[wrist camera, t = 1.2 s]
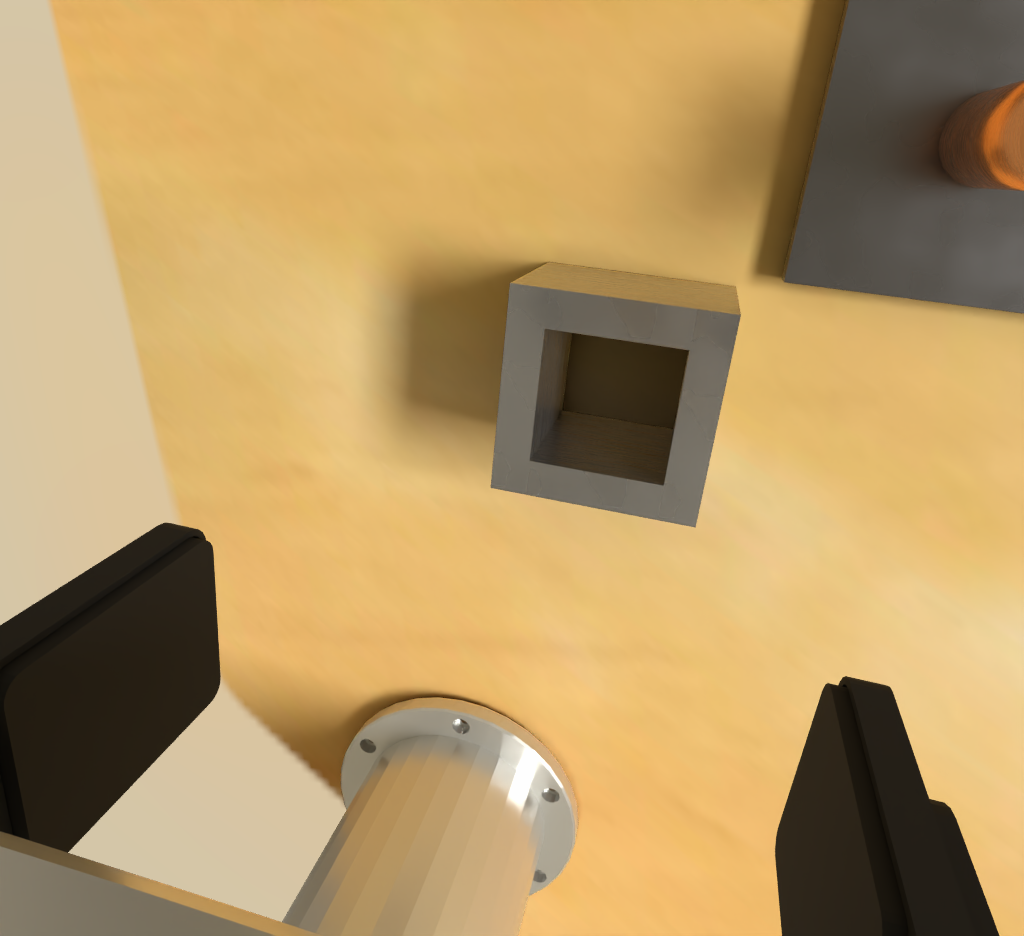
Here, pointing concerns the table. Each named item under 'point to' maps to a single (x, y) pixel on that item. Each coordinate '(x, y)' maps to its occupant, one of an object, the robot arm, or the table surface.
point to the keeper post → (919, 156)
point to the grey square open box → (598, 440)
